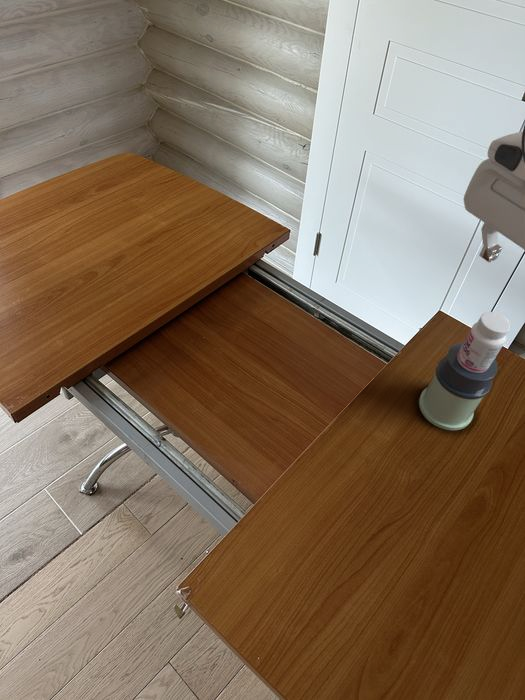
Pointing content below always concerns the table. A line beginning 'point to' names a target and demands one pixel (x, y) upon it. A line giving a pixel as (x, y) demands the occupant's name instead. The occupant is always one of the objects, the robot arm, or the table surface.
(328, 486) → the table surface
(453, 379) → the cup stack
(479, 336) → the pill bottle
